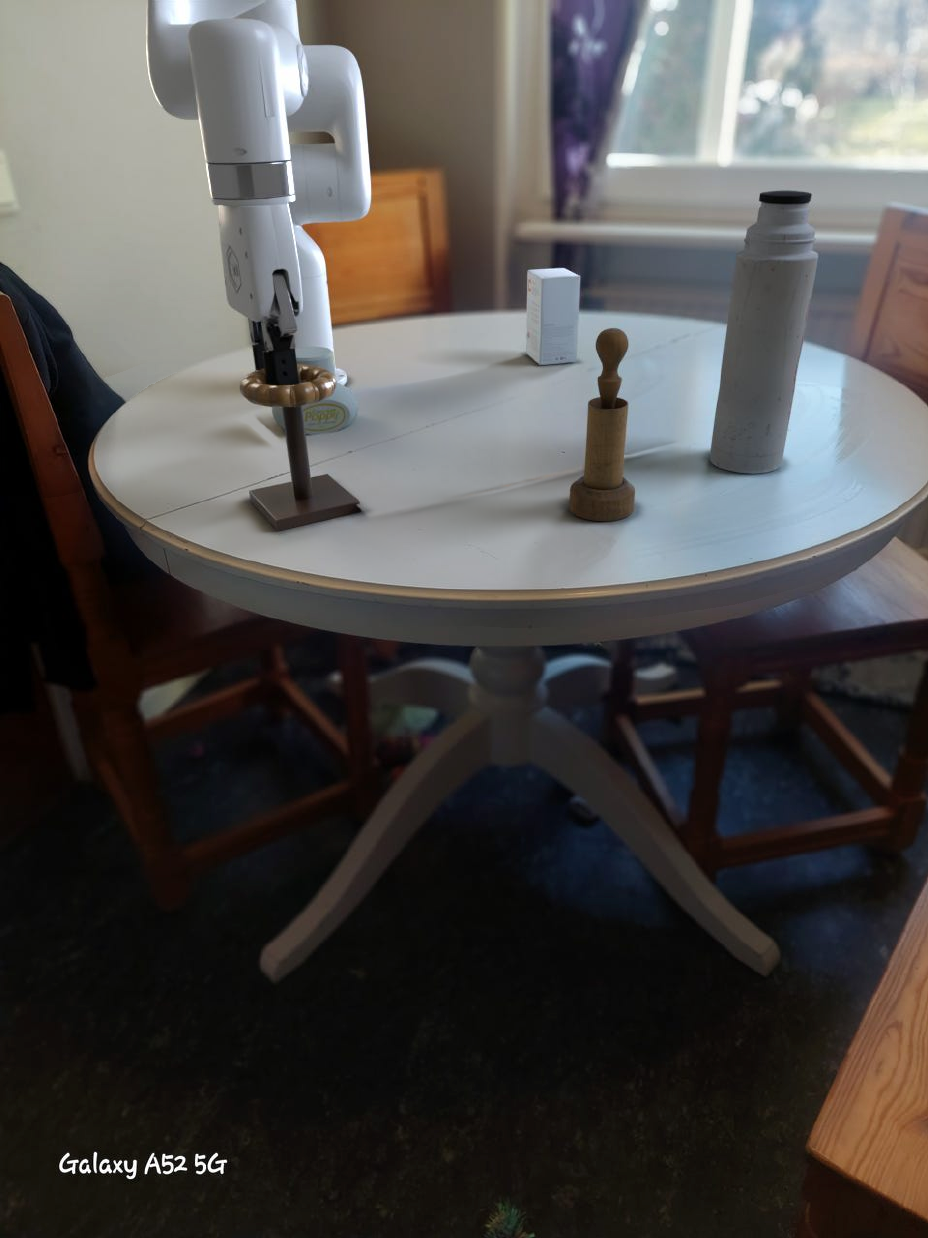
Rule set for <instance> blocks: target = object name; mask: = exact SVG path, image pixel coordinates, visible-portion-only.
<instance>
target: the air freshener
mask: <svg viewBox="0 0 928 1238" xmlns="http://www.w3.org/2000/svg"><path fill="white" fill-rule="evenodd" d="M295 353H296V361H297V365H311V366H318V367H323V368H325V369H327V370H328V371H330V372H331V373H333V374H334V375H335V376H336V373H335V368H336V362H335V363H334V358H335V353H334V354H333V352H332V351H331V350H330V349H328V348H323V347H305V348H298V349H295ZM302 408H303V416H304V425H305V433H306V436H317V435H323V434H331V433H336V432H339V431H342V430H344V429H346V428H348V427H349V426H350V425H352V423H353V422H354V421H355V420H356V418H357V416H358V413H359V410H360V404H359V400H358V398H357V396H356V395H355V393H354V392H353V391H352V390H351V389H350V388H349V387H347V386H346V385H345V384H344V385H342V384H340V383H338V382H337V386H336V388H335V390H334V392H333V394H332V395H331V396H330V397H328V398H326V399H323V400H321V401H319V402H316V403H313V404H307V405H302ZM271 414H272V416H273V419H274V420H275V422H276V424H277V425H279V426H280V428H282V429H283V430H285V427H284V420H283V412H282V407H271Z"/></svg>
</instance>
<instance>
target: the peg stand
mask: <svg viewBox="0 0 928 1238" xmlns="http://www.w3.org/2000/svg"><path fill="white" fill-rule="evenodd" d="M282 412H283V420H284V427H285V429H284V435H285V441H286V442H285V443H286V450H287V458H288V464H289V472H290V479H291V481H288V482H287V481H286V482H283V483H279V484H274V485H269V486H264V487H260V488H255V489H250V490H248V493H249V500H250V502H251V503H252V504H253V505H254V506H255V508H256V509H257V510H258V511H259V512H260V513H261V514H262V516H263V517H265V519H266V520H267V521H268V522H269V523H270V524H271V526H273V527H274V529H275V530H276V531H277V532H280V531H284V530H288V529H293V528H297V527H301V526H302V527H303V526H307V525H309V524H315V523H318V522H323V521H327V520H330V519H335V518H339V517H344V516H348V515H352V514H356V513H357V514H358V513H360V512H361V508H360V507H359V506H358V505H359V504H360V503H361V501H360V500H359V499H358V498H356V496H354V495H353V494H352V493H350V491H348V490H347V489H346V488H344V486H342V485H341V484H340V483H339V482H338V481H336V480H335V479H334V478H333V477H332V476H330V474H328V473H324V474H319V475H316V476H315V475H314V476H311V467H310V459H309V451H308V441H307V435H306V433H305V425H304V416H303V408H302V406H296V407H282Z"/></svg>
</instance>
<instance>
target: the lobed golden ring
mask: <svg viewBox="0 0 928 1238" xmlns="http://www.w3.org/2000/svg"><path fill="white" fill-rule="evenodd" d="M297 369H298V378H299V384H294V385H267V384H266V378H265V370H264V368H263V369H260V370H257V371H256V370H255V371H252V372H250V373H248V374H247V375H246V376H245V377H244V378H243V379H242V381H241V382H240V384H239V391H240V394H241V395H242V397H244V398H245V399H246V400H247V401H248V402H249V403H250V404H253V405H258V406H263V407H266V408H267V407H269V408H272V407H296V406H302V405H307V404H313V403H316V402H319V401H321V400H323V399H326V398H328V397H330V396H331V395H332V394H333V392H334V390H335V388H336V386H337V379H336V376H335V375H334V374H333V373H331V372H330V371H328V370H327V369H325V368H323V367H318V366H311V365H297Z"/></svg>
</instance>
